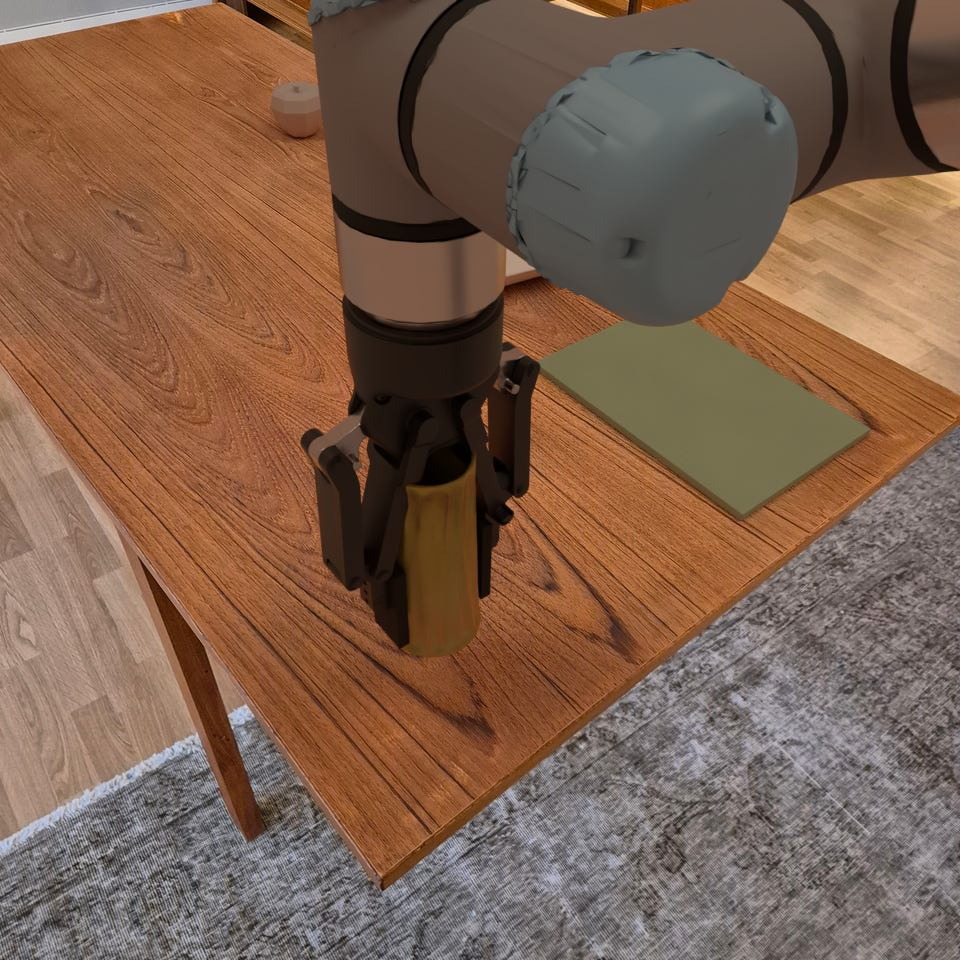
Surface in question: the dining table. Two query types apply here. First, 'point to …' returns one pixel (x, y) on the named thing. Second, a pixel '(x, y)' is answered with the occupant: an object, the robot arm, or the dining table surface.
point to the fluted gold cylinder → (441, 557)
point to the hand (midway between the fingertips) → (433, 607)
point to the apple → (297, 108)
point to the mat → (704, 409)
